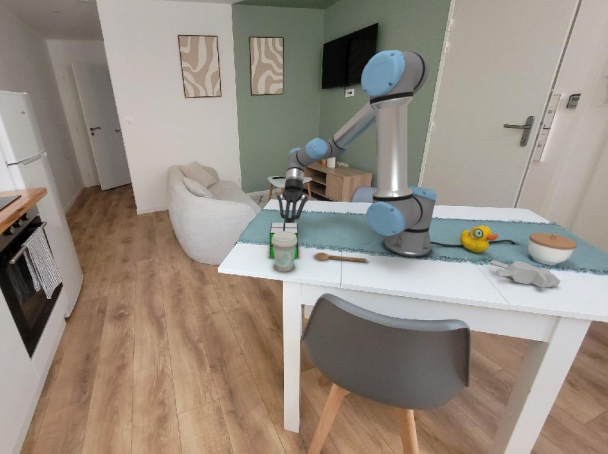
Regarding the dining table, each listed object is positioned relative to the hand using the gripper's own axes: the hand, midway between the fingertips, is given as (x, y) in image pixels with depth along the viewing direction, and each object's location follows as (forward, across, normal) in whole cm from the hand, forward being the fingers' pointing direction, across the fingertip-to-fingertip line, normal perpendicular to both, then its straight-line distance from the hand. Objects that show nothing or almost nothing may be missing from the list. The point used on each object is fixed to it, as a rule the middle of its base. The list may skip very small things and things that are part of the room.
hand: (287, 234), depth 114 cm
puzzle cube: (+8, 0, +2) cm, 8 cm away
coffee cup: (+16, -2, +9) cm, 19 cm away
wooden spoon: (+9, -20, +3) cm, 22 cm away
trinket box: (0, -85, -6) cm, 85 cm away
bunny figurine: (+11, -72, +4) cm, 73 cm away
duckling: (-2, -66, -8) cm, 66 cm away
